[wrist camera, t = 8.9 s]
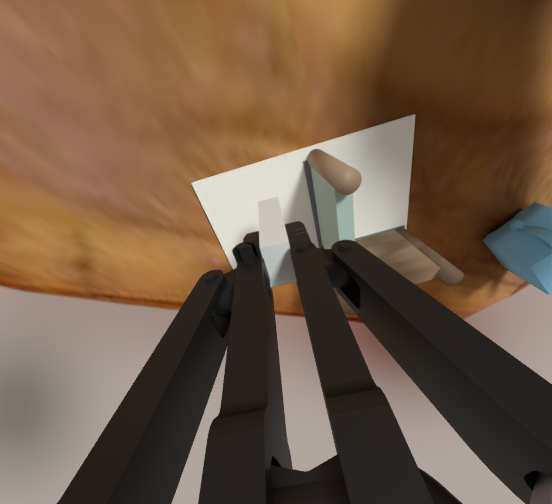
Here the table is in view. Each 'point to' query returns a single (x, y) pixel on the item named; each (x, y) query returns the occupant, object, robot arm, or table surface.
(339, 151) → the card
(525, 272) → the teapot
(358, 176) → the swing panel
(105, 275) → the table surface
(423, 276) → the fixed fence
